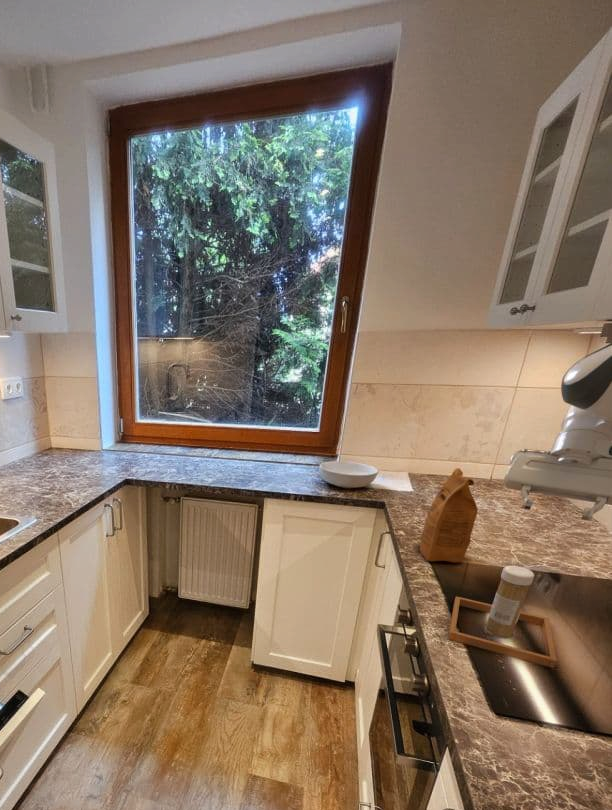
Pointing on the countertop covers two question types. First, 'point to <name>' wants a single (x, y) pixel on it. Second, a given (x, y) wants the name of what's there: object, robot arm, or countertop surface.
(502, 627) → the sprinkles bottle
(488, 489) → the countertop surface
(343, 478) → the serving bowl
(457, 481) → the coffee package
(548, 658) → the wooden frame
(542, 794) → the countertop surface
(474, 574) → the countertop surface
